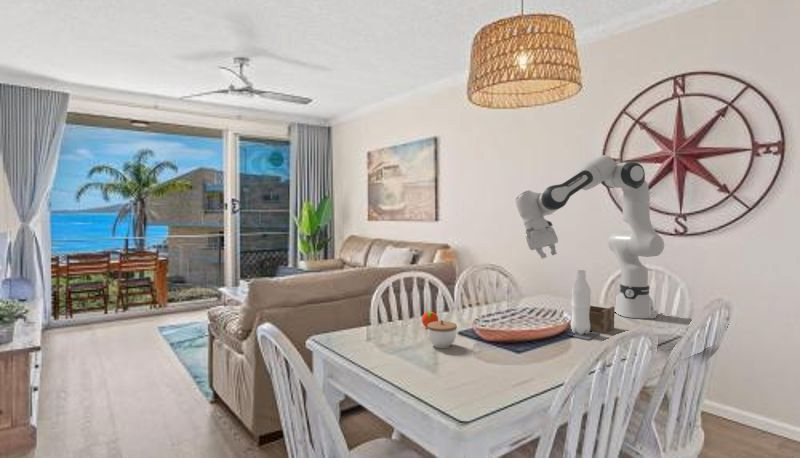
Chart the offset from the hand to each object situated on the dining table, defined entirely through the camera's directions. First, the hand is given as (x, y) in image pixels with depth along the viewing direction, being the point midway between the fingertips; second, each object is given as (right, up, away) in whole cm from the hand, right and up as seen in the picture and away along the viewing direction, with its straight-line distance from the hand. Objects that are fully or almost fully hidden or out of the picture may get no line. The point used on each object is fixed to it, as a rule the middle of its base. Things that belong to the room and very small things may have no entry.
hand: (549, 256), depth 194 cm
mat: (+7, -30, -15) cm, 34 cm away
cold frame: (+17, -30, -5) cm, 35 cm away
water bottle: (+8, -30, -14) cm, 34 cm away
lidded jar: (-49, -31, -28) cm, 65 cm away
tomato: (-52, -30, -4) cm, 60 cm away
